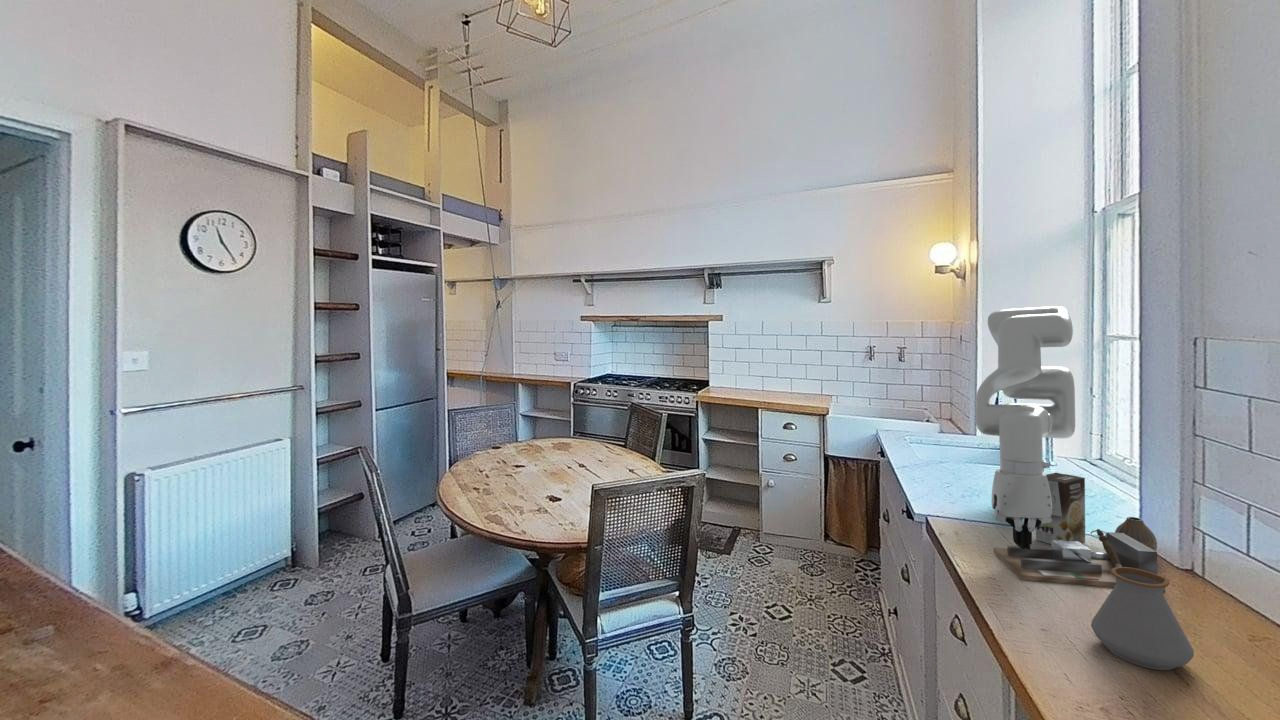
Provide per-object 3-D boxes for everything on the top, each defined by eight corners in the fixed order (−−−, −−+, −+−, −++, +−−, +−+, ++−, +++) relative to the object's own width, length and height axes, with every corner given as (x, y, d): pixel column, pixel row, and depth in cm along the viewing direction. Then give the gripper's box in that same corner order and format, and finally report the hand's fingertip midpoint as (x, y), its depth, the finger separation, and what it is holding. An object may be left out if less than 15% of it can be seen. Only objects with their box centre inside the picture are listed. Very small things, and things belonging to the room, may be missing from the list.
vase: (1166, 563, 106) (1166, 524, 106) (1129, 562, 108) (1128, 523, 107) (1140, 550, 113) (1140, 513, 113) (1106, 549, 114) (1105, 512, 114)
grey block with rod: (1074, 577, 100) (1074, 556, 100) (1051, 559, 108) (1051, 539, 108) (1139, 582, 97) (1139, 560, 97) (1110, 563, 105) (1110, 543, 105)
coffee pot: (1213, 687, 70) (1212, 585, 69) (1108, 667, 75) (1107, 572, 74) (1139, 611, 89) (1138, 531, 89) (1060, 599, 94) (1058, 524, 94)
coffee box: (1065, 549, 115) (1064, 483, 115) (1034, 539, 121) (1033, 476, 121) (1086, 541, 119) (1085, 477, 119) (1055, 532, 125) (1054, 471, 124)
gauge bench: (1022, 579, 102) (1021, 547, 102) (993, 551, 116) (993, 523, 115) (1165, 591, 95) (1164, 556, 95) (1117, 560, 109) (1116, 529, 109)
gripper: (1051, 462, 109) (1053, 541, 110) (975, 461, 113) (977, 537, 114) (1071, 471, 102) (1072, 556, 103) (989, 470, 106) (991, 551, 107)
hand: (1022, 546), depth 108 cm, fingers closed
